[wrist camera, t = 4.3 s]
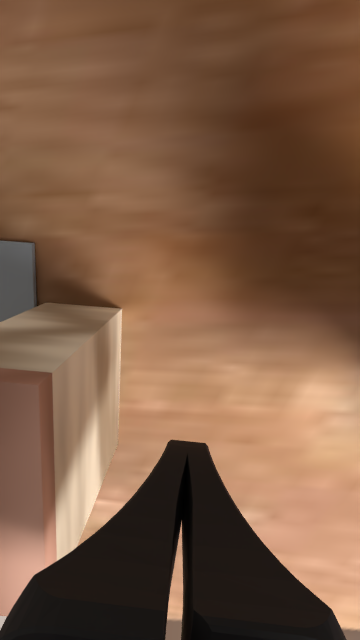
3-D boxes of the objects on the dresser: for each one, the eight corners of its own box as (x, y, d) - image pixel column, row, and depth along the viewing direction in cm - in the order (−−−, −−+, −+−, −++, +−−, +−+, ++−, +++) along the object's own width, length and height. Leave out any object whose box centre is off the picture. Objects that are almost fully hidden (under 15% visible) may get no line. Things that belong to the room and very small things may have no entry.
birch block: (122, 308, 17) (38, 385, 8) (117, 443, 19) (46, 621, 10) (46, 302, 18) (-114, 370, 9) (50, 436, 19) (-77, 605, 11)
